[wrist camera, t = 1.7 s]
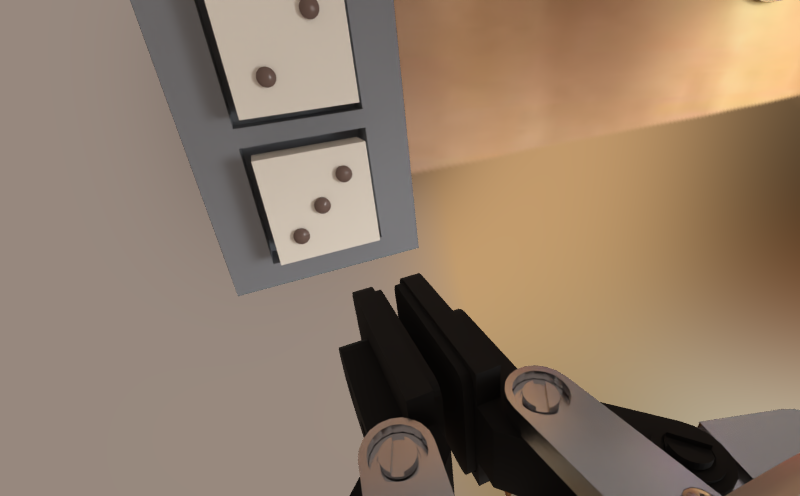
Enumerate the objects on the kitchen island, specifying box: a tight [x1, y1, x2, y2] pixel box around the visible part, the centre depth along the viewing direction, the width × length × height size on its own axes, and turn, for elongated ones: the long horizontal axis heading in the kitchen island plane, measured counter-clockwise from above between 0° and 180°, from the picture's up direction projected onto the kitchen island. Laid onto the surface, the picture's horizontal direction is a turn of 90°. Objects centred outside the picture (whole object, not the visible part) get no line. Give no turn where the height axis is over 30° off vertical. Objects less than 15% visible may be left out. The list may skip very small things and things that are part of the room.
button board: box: [130, 0, 418, 296], centre depth 20 cm, size 12×26×4 cm, turn 7°
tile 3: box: [251, 137, 380, 265], centre depth 22 cm, size 6×6×2 cm
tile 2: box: [204, 0, 359, 120], centre depth 18 cm, size 6×6×2 cm
